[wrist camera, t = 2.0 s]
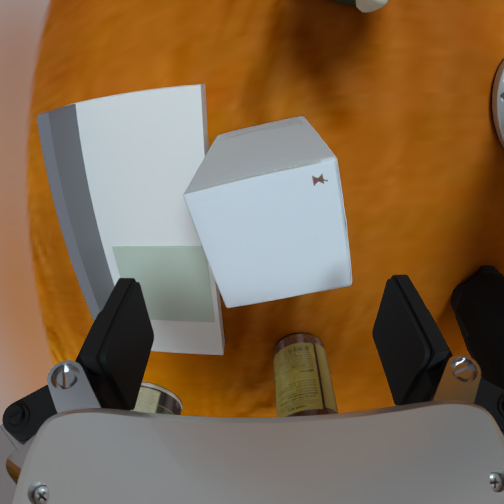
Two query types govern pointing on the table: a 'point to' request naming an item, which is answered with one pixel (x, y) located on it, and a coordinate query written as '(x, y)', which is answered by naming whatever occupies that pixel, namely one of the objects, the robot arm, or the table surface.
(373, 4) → the character mug
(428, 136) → the table surface
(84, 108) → the shelf board
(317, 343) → the sauce bottle
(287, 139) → the supplement box
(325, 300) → the table surface
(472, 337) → the portable speaker
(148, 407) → the coffee can
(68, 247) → the rail
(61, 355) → the table surface
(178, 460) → the robot arm
